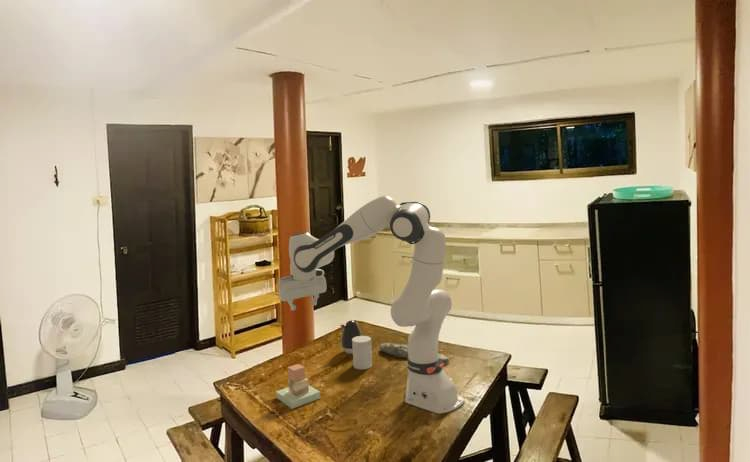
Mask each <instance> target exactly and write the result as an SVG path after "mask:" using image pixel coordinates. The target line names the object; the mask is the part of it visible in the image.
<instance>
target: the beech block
mask: <svg viewBox="0 0 750 462" xmlns="http://www.w3.org/2000/svg"><path fill="white" fill-rule="evenodd" d="M308 385H309V379H308V378H307V377H305V379H303V380H300V381H297V382H293V381H292V380H290V379H289V378H287V387H288V389H289V392H290V393H291V394H293V395H294V396H296V397H297V396H299V395H302V394H305V393H308V392H309V386H308Z"/></svg>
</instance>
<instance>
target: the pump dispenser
mask: <svg viewBox="0 0 750 462" xmlns="http://www.w3.org/2000/svg"><path fill="white" fill-rule="evenodd" d="M340 327H341V328H343V329H342V333H341V341H340V342H341V343H340V346H341V348H342V350H343V351H344V352H345V354H349V355H353V347H352V339H353V338H354V337H357V336H363V335H362V332H361V329H360V327H359V325H358V323H357V322H356V321H354V320H352V319H351V320H348V321H346V323H345V324H342V323H341V324H340Z"/></svg>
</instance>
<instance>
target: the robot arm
mask: <svg viewBox="0 0 750 462" xmlns="http://www.w3.org/2000/svg"><path fill="white" fill-rule="evenodd" d="M430 220H431V213H430V210H429V208H428V206H427V205H426V204H424V203H422V202H420V201H407V202H406V201H405V202H400V203H399V204H398V203H397V202H396V201H395V200H394V199H393V198H392V197H391V196H389V195H381V196H379V197H376V198H375V199H373V200H371V201H368V202H367V203H365V204H364V205H362V206H361V207H360V208H358V209H357V210H356V211H355V212H353V213H352V214H351V215H350V216H349V217H347V218H346V219H345V220H344V221H343V222H341V223H340V224H339V225H338V226H336V228H334V229H333V230H331V231H330V232H328V233H327V234H325V235H324V236H322V237H321V238H316V237H315V236H313V235H311V234H310V232H308V231H307V232H306V231H305V232H304V231H303V232H298V233H294V234H291V236H290V238H289V240H288V241H289V242H288V255H289V260H290V263H289V272H290V273H289V274H290V275H287V276H282V277H281V278H279V279H278V282H277V285H278V291H277V292H278V298H277V299H279V300H280V301H281V302H287V303H288V305H289V306H290V311H296V310H297V305H295V304H293V303H294V300H296V299H301V298H302V299H303V298H305V297H306V298H307V297H310V296H313V299H312V300H311V301H310V303H311V306H312V307H313V306H317V304H318V303H317V302H318V299H319V297H320V294H323V293H326V291H327V289H328V288H327V286H328V285H327V280H326V277H325V276H324V275H325V271H324V270H323V269H321V267H323V266H326V265H329V264H330V263H332V262H333V260H334V258H335V256H336V255H335V251H336V250H337V249H339V248H341V247H343V246H346V245H349V244H353V243H357V242H361V241H364V240H367V239H370V238H371V237H373V236H375V235H376V234H378V233H380V232H381V231H383V230H385V229H387V228H388V227H389V229H390V233H391V234H392V235H393V237H395V238H396V239H398V240H401V241H403V242H406V243H408V244H410V245H414V249H413V256H412V263H411V269H410V274H409V276H408V277H409V278H408V280H407V282H406V285H405V286H404V288H403V290H402V292H401V293H400V295H399V296H398V297H397V298H396V299H395V300H394V301H393V302H392V303H391V306H390V317H391V319H392V321H393V322H394V324H396V325H397V326H399V327H402V328H403V327H405V328H406V327H414V329H413V330H412V332H411V333H410V334H409V336H408V338H407V345H408V358H406V360H407V362H406V365H407V366H406V367H407V369H408V372H407V379H406V389H405V393H404V395H405V398H404V402H405V403H406V404H409V405H412V406H415V407H417V408H420V409H423V410H426V411H429V412H432V413H435V414H439V415H440V414H445V413H449V412H451V411H452V412H453V411H454V410H456V409H458V408H460V407H461V406H463V404H464V403H465V398H464V397H463V396H461V395H460V394H458V390H457V385H456V384H455V382H454V381H453V378H451V377H449V376H448V374H447V373H446V372H445V371H444V369H443V367H445V365H443V364H444V363H442V364H441V362H440V359H439V357H438V354H439V336H440V333H441V329H442V325H443V323H444V320H445V318H446V317H447V315H448V314H449V313H450V312H451V310H452V305H453V303H452V297H451V296H450V295H449V293H448V292H447V291H446V290H444V289H438V288H437V287H438V286H439V285H440V283H441V281H442V279H443V273H444V272H443V271H444V266H445V265H444V264H445V258H446V247H447V245H446V244H447V243H446V235H445V233H444V232H443V230H441V229H439V228H437V227H432V226H431V225H430V224H429V223H430ZM436 288H437V289H436Z"/></svg>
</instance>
